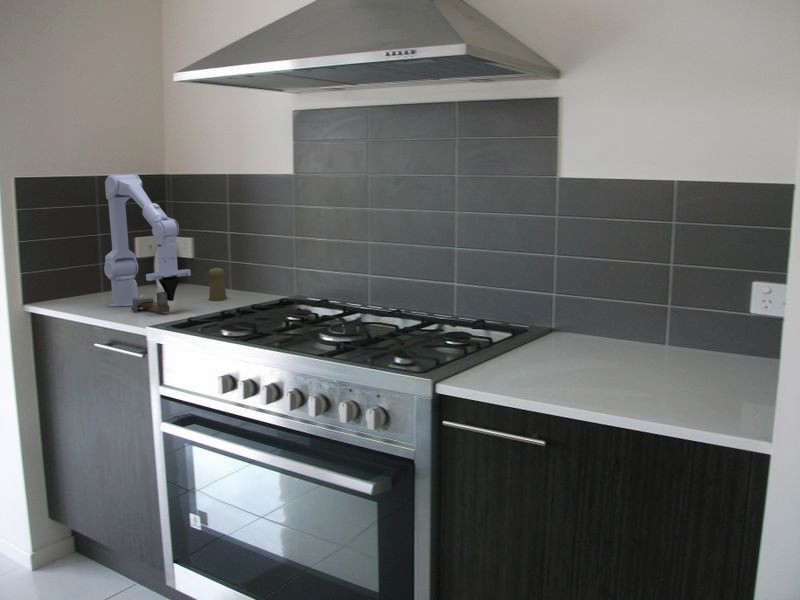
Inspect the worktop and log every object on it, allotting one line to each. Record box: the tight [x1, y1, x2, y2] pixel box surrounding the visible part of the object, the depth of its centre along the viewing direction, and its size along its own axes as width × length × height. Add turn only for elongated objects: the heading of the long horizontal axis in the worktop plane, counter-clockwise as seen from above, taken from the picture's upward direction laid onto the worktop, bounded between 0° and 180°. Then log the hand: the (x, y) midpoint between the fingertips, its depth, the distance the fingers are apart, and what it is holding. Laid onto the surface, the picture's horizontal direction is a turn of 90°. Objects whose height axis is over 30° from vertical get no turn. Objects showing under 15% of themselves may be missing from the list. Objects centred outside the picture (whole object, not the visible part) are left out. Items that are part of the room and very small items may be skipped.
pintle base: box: [130, 294, 150, 312], centre depth 262 cm, size 7×7×4 cm
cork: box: [208, 267, 228, 302], centre depth 277 cm, size 6×6×11 cm
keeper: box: [132, 296, 155, 314], centre depth 258 cm, size 3×6×4 cm, turn 109°
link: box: [137, 291, 170, 314], centre depth 257 cm, size 18×4×6 cm, turn 44°
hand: (170, 300), depth 254 cm, fingers closed
